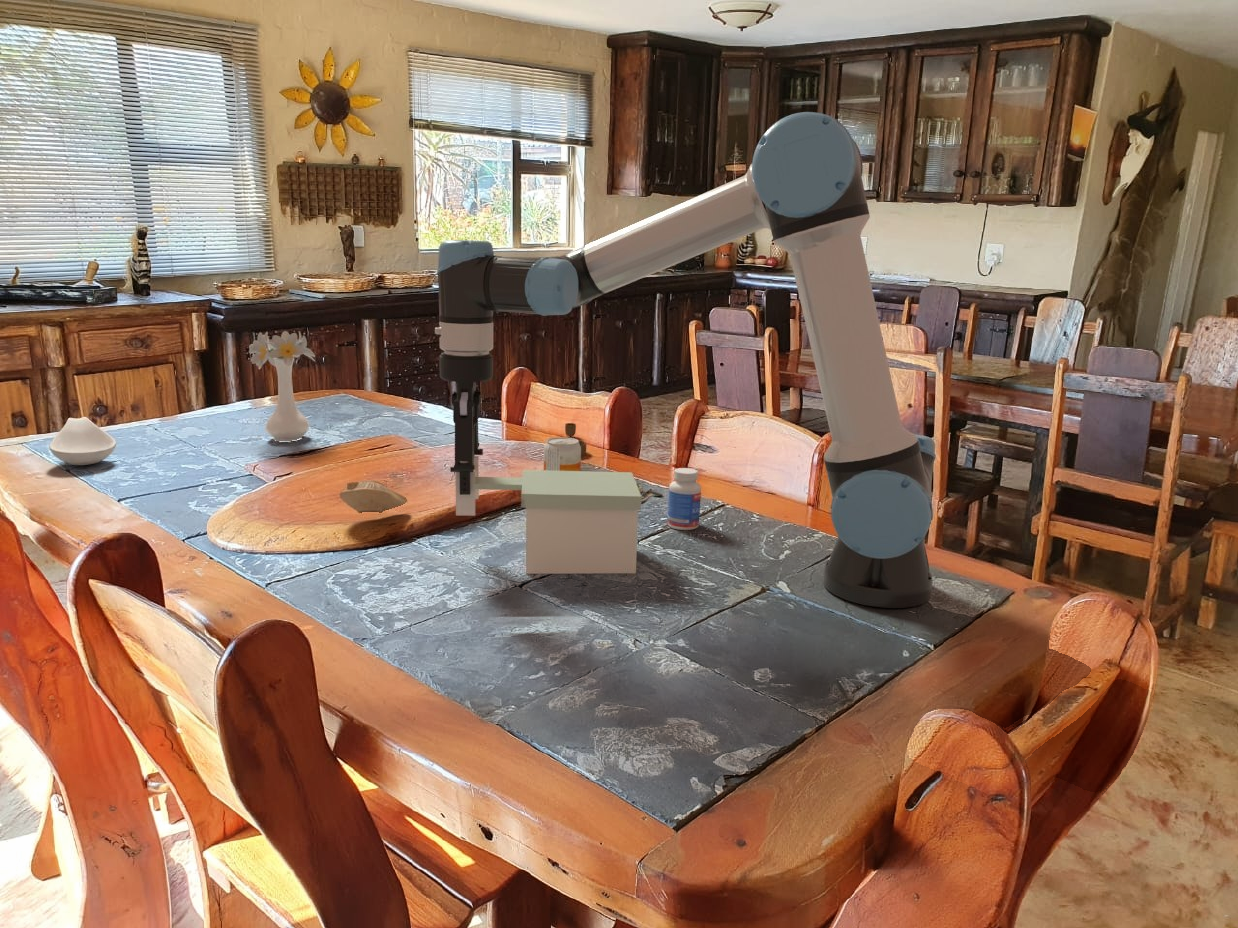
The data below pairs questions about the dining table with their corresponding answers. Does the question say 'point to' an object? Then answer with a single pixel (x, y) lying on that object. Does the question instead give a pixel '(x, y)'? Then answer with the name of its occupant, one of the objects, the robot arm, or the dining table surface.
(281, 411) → the flower vase
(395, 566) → the dining table surface
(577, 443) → the beer can
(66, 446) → the spoon rest
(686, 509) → the pill bottle
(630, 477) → the lid
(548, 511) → the tub
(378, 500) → the pottery oil lamp
